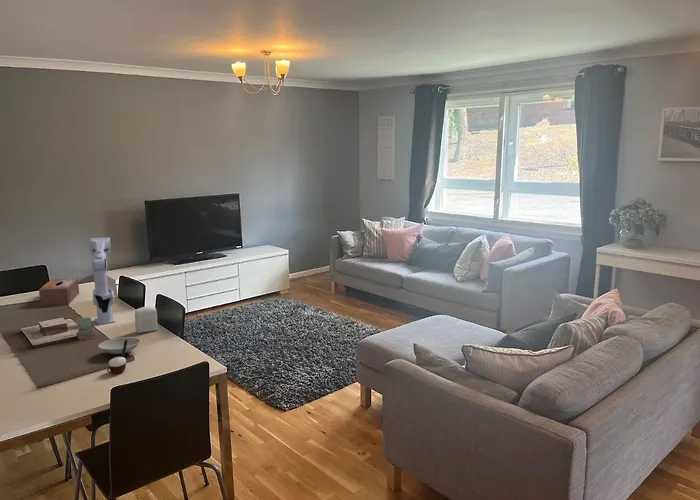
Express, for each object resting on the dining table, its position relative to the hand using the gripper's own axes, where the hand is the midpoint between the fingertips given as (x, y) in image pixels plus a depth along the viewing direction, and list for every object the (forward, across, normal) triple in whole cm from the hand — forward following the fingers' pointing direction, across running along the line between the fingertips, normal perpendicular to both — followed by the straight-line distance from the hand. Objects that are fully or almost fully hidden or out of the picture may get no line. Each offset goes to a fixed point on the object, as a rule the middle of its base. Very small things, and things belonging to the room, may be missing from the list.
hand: (103, 310), depth 261 cm
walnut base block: (+11, +5, -9) cm, 15 cm away
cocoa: (+11, +56, -5) cm, 57 cm away
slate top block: (+8, +5, -9) cm, 13 cm away
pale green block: (+6, +5, -9) cm, 12 cm away
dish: (+11, +36, 0) cm, 37 cm away
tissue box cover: (+11, -73, -11) cm, 75 cm away
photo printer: (+11, +12, +17) cm, 23 cm away
